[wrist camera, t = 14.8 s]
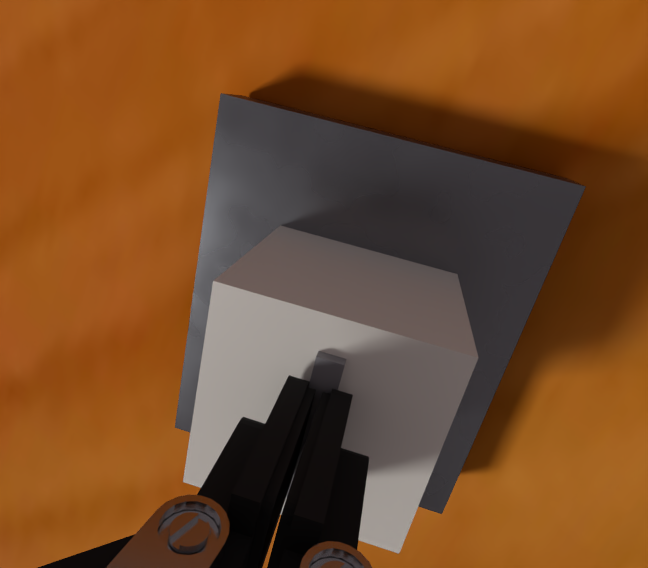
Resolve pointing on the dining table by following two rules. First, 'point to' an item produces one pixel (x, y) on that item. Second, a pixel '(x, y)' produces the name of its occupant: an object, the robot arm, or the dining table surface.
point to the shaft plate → (384, 230)
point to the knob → (338, 361)
